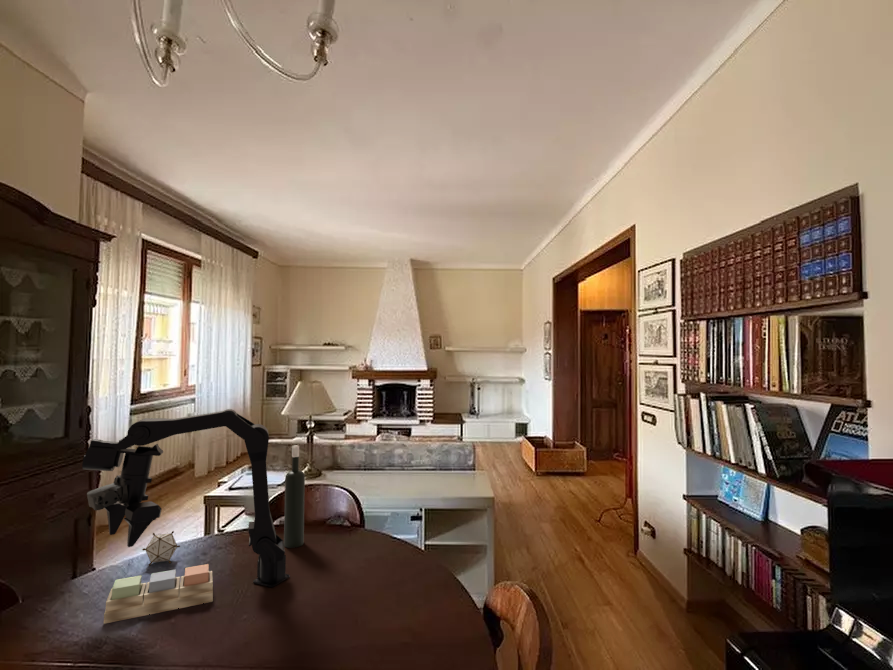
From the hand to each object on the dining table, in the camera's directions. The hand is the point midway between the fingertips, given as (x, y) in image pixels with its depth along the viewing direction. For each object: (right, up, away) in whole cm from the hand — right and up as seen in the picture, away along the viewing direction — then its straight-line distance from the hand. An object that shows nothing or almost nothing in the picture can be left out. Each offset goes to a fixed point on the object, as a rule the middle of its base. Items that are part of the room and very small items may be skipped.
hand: (120, 540), depth 111 cm
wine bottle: (+29, -16, +35) cm, 48 cm away
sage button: (+4, -11, -3) cm, 12 cm away
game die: (-4, -16, +22) cm, 27 cm away
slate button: (+10, -11, 0) cm, 15 cm away
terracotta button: (+16, -11, +3) cm, 20 cm away
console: (+10, -14, 0) cm, 17 cm away
